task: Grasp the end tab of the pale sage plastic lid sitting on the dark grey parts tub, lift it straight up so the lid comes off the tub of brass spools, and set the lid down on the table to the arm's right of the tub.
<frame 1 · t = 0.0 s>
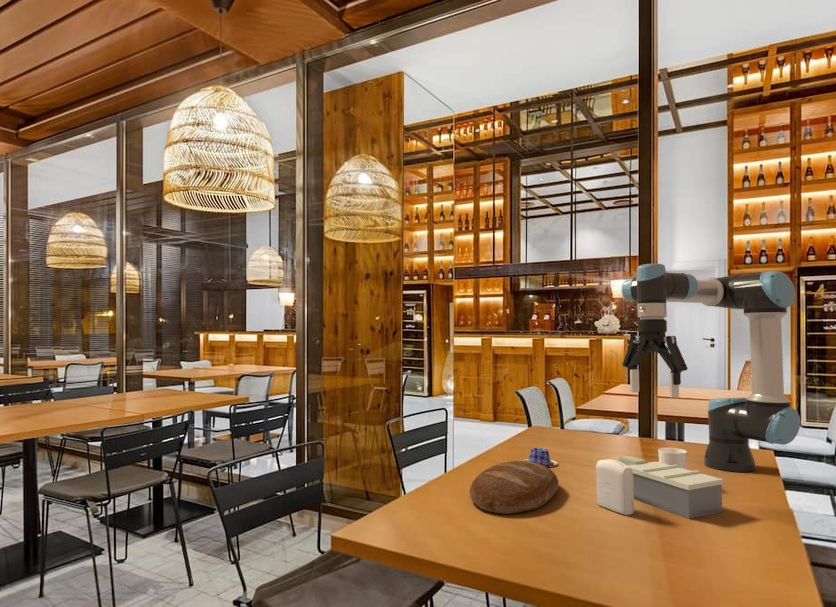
hand: (653, 394, 150), 28 cm above the table, fingers open, 13 cm apart
tub: (671, 503, 142), on the table
patterned hat: (539, 465, 185), on the table
photo printer: (614, 510, 138), on the table
bread: (515, 496, 150), on the table
white cup: (673, 484, 161), on the table
lid: (671, 476, 142), point 7 cm above the table, touching tub
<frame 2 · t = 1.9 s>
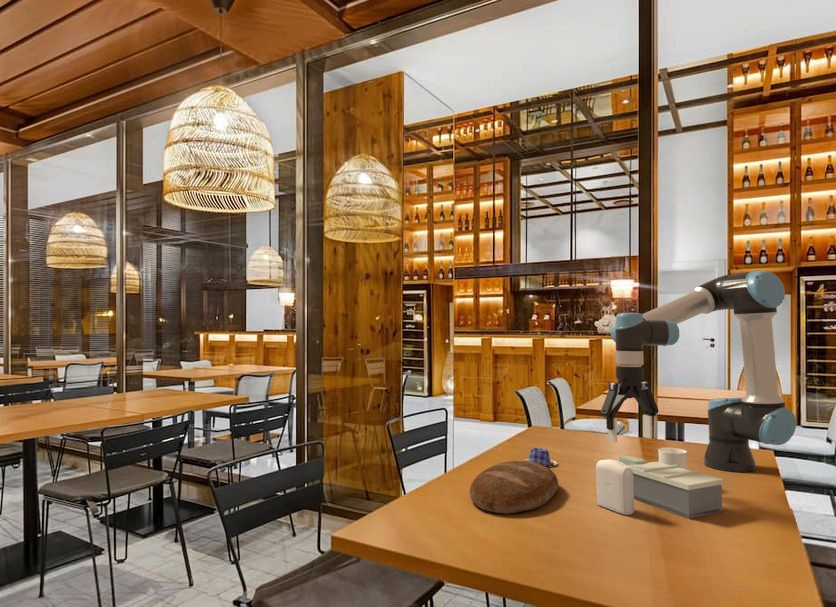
hand: (630, 439, 155), 14 cm above the table, fingers open, 13 cm apart
nothing on the table moved.
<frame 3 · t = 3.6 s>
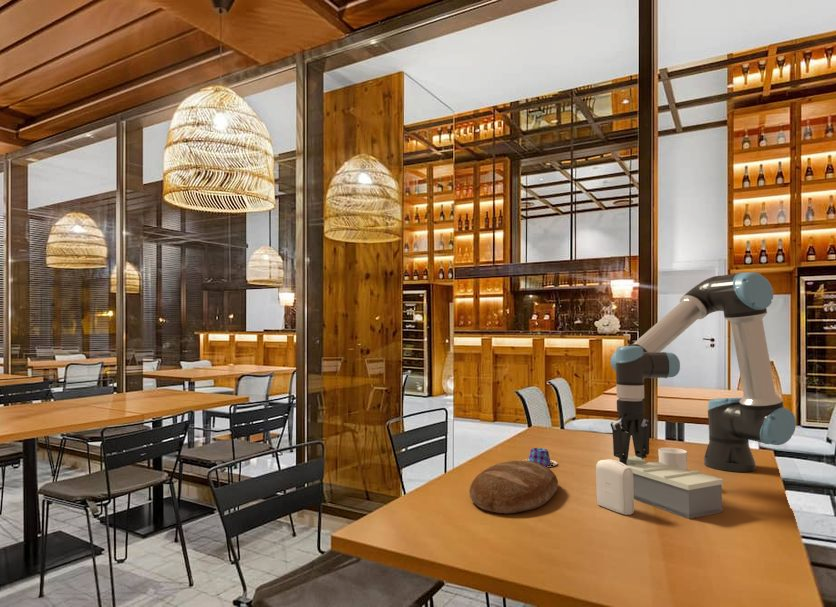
hand: (632, 480, 155), 3 cm above the table, fingers closed on lid, 4 cm apart
lid: (671, 476, 142), point 7 cm above the table, touching gripper, tub
everything else where it was.
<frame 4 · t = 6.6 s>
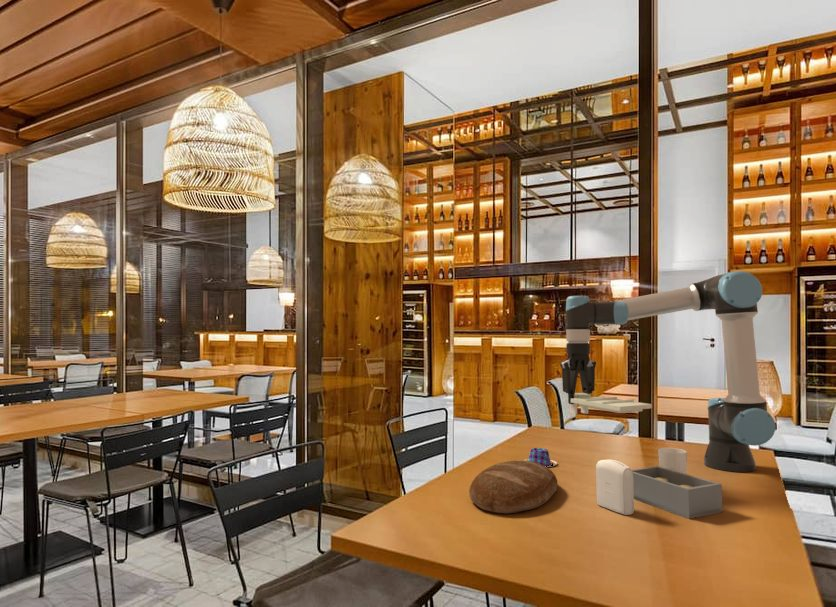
hand: (579, 413, 176), 19 cm above the table, fingers closed on lid, 4 cm apart
lid: (609, 405, 164), point 23 cm above the table, touching gripper
everything else where it was.
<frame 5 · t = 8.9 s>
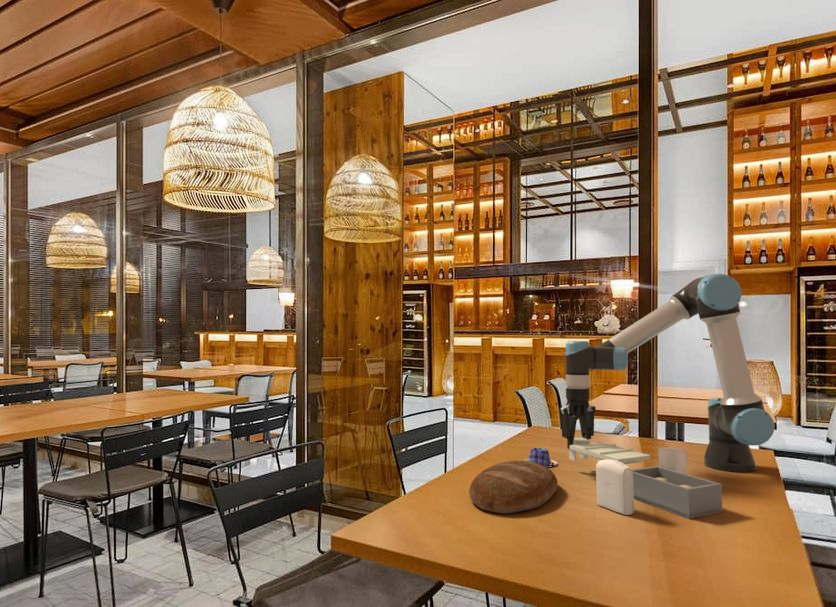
hand: (578, 458, 176), 4 cm above the table, fingers closed on lid, 4 cm apart
lid: (608, 454, 164), point 8 cm above the table, touching gripper
everything else where it was.
when the fingers open (2 cm above the table, at t = 9.6 s): lid drops 5 cm, point 1 cm above the table.
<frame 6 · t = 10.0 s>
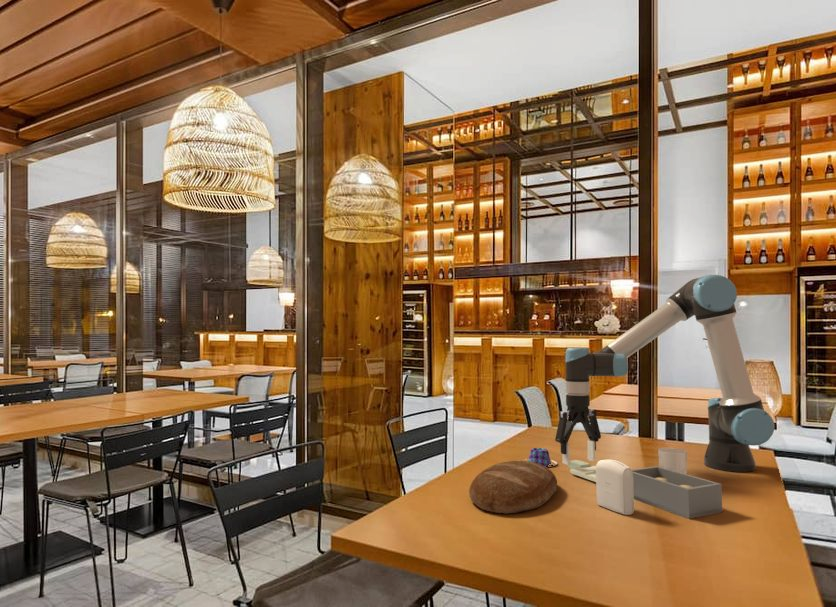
hand: (578, 462, 176), 3 cm above the table, fingers open, 10 cm apart
lid: (608, 478, 164), point 1 cm above the table
everything else where it was.
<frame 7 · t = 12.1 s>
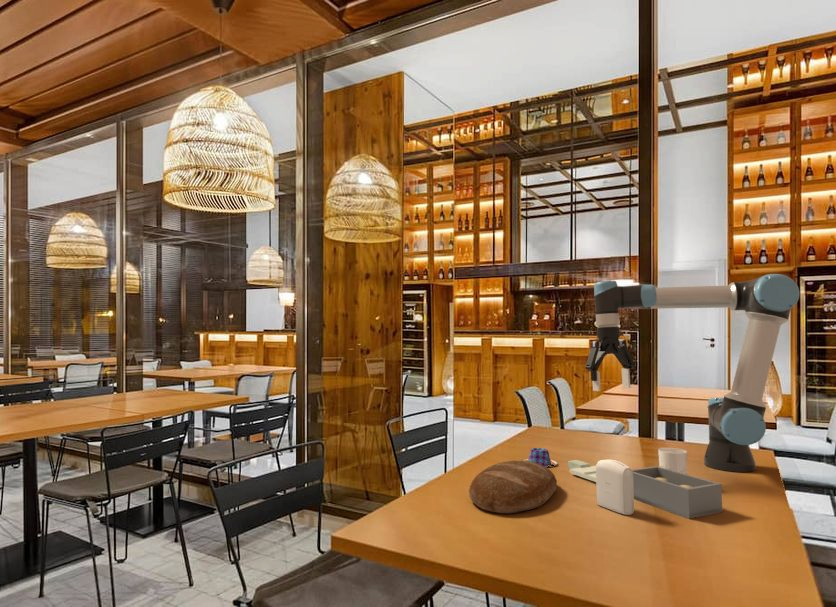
hand: (611, 389, 181), 26 cm above the table, fingers open, 13 cm apart
nothing on the table moved.
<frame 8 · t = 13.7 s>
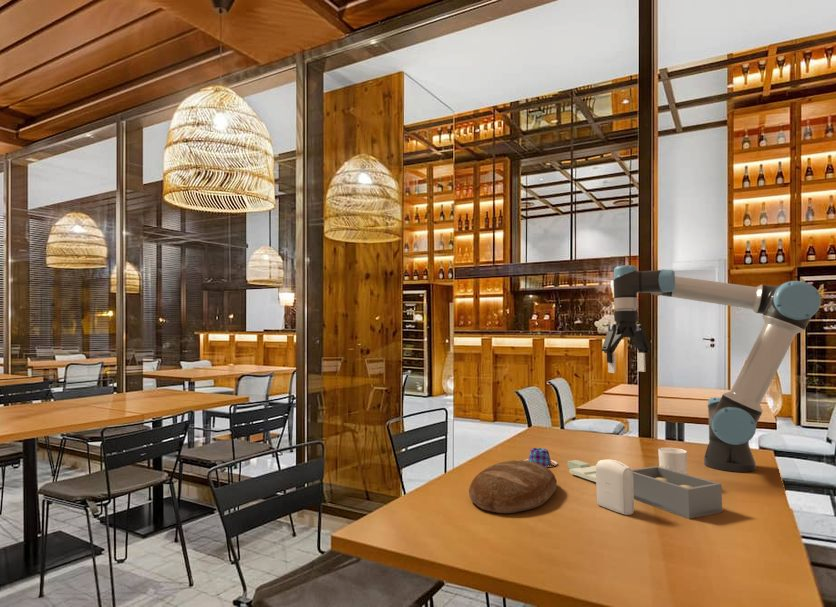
hand: (627, 372, 184), 32 cm above the table, fingers open, 13 cm apart
nothing on the table moved.
at the end: lid inside the target area (2.6 cm from its centre), point 0.7 cm above the table; lid touching table; the gripper is holding nothing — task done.
